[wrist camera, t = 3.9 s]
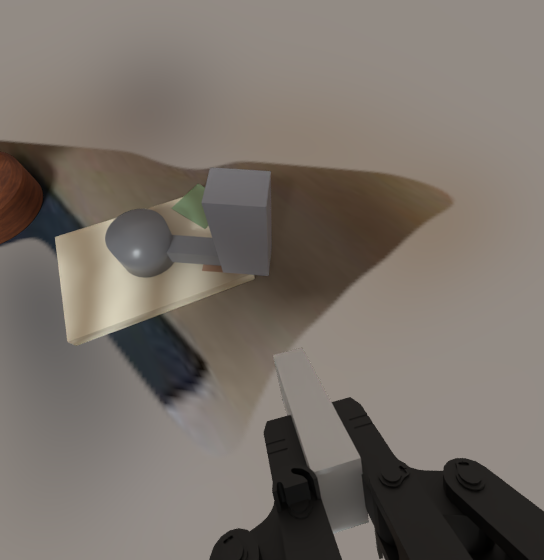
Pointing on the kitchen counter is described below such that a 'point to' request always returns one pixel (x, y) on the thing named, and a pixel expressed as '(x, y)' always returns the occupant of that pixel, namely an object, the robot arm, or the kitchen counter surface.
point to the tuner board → (128, 288)
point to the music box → (16, 197)
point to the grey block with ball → (222, 223)
